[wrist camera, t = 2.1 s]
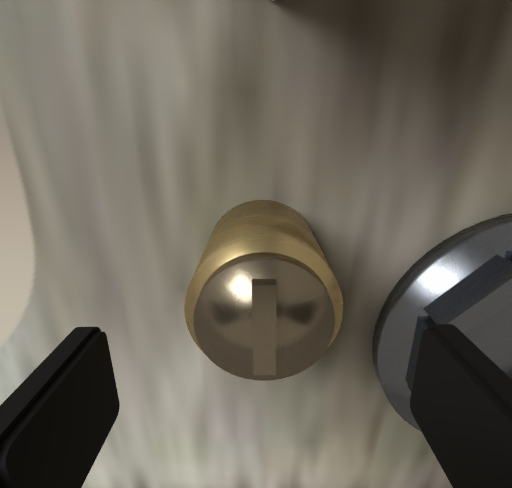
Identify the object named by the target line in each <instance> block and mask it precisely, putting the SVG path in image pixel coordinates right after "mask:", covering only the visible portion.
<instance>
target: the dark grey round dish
mask: <svg viewBox="0 0 512 488" xmlns="http://www.w3.org/2000/svg"><path fill="white" fill-rule="evenodd" d="M431 324H453V325H454V326H456V327H457V328H458V329H459V330H460V331H461V332H462V333H463V334H464V335H465V336H466V337H467V338H468V339H469V340H470V341H472V342H473V343H474V344H475V345H476V346H477V347H478V348H479V349H480V350H481V351H482V352H483V353H484V354H485V355H486V356H487V357H488V358H489V359H491V360H492V361H493V362H494V363H495V364H496V365H497V366H498V367H499V368H500V369H501V370H502V371H503V372H504V373H505V374H506V375H507V376H508V377H510V378H511V379H512V214H507V215H502V216H499V217H496V218H492V219H489V220H486V221H483V222H480V223H478V224H476V225H473V226H471V227H469V228H466V229H464V230H462V231H460V232H458V233H457V234H455V235H453V236H451V237H449V238H448V239H446V240H444V241H443V242H441V243H440V244H439V245H437V246H436V247H434V248H433V249H431V250H430V251H429V252H427V253H426V254H425V255H424V256H423V257H422V258H420V259H419V260H418V261H417V262H416V263H415V264H414V265H413V266H412V267H411V268H410V269H409V270H408V271H407V272H406V273H405V274H404V276H403V277H402V278H401V279H400V280H399V282H398V283H397V284H396V286H395V287H394V289H393V290H392V291H391V293H390V294H389V296H388V298H387V300H386V302H385V304H384V305H383V307H382V310H381V312H380V315H379V317H378V320H377V323H376V327H375V332H374V336H373V349H372V352H373V362H374V367H375V370H376V374H377V377H378V379H379V381H380V383H381V385H382V387H383V390H384V392H385V394H386V396H387V398H388V400H389V402H390V403H391V405H392V406H393V408H394V409H395V410H396V412H397V413H398V414H399V415H400V416H401V417H402V418H403V419H404V420H405V421H406V422H408V423H409V424H411V425H412V426H413V427H415V428H416V429H418V430H420V431H421V429H420V428H419V426H418V424H417V422H416V420H415V419H414V417H413V415H412V412H411V409H410V398H411V392H412V387H413V381H414V376H415V370H416V365H417V359H418V353H419V348H420V342H421V337H422V333H423V331H424V330H425V329H428V327H429V326H430V325H431Z"/></svg>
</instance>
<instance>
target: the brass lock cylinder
mask: <svg viewBox="0 0 512 488" xmlns="http://www.w3.org/2000/svg"><path fill="white" fill-rule="evenodd" d="M342 317H343V298H342V293H341V290H340V286H339V284H338V282H337V280H336V278H335V276H334V274H333V272H332V270H331V268H330V266H329V264H328V262H327V260H326V258H325V256H324V254H323V252H322V250H321V248H320V247H319V245H318V243H317V241H316V239H315V237H314V235H313V233H312V231H311V229H310V227H309V225H308V224H307V222H306V221H305V220H304V218H303V217H302V216H301V215H300V214H299V213H297V212H296V211H295V210H293V209H292V208H290V207H288V206H286V205H284V204H282V203H279V202H275V201H270V200H255V201H250V202H246V203H243V204H240V205H238V206H236V207H234V208H232V209H231V210H230V211H228V212H227V213H226V214H225V215H224V216H222V218H221V219H220V220H219V221H218V223H217V224H216V226H215V227H214V229H213V232H212V234H211V236H210V239H209V241H208V243H207V246H206V248H205V250H204V252H203V255H202V257H201V259H200V262H199V264H198V266H197V269H196V271H195V273H194V276H193V278H192V280H191V283H190V285H189V287H188V290H187V294H186V299H185V318H186V323H187V326H188V329H189V332H190V334H191V336H192V338H193V340H194V341H195V343H196V344H197V346H198V347H199V348H200V349H201V350H202V351H203V353H204V354H205V355H207V356H208V358H209V359H210V360H211V361H212V362H214V363H215V364H216V365H217V366H219V367H220V368H222V369H223V370H225V371H227V372H229V373H231V374H233V375H236V376H239V377H242V378H246V379H252V380H276V379H282V378H286V377H289V376H292V375H295V374H297V373H299V372H301V371H303V370H305V369H306V368H308V367H309V366H311V365H312V364H313V363H314V362H316V361H317V360H318V359H319V358H320V357H321V356H322V354H323V353H324V352H325V351H326V350H327V349H328V348H329V347H330V345H331V344H332V342H333V341H334V339H335V337H336V335H337V333H338V331H339V329H340V326H341V323H342Z"/></svg>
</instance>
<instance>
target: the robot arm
mask: <svg viewBox="0 0 512 488" xmlns="http://www.w3.org/2000/svg"><path fill="white" fill-rule="evenodd" d="M410 409H411V412H412V415H413V417H414V419H415V420H416V422H417V424H418V426H419V428H420V429H421V431H422V433H423V435H424V436H425V438H426V440H427V442H428V444H429V445H430V447H431V449H432V451H433V453H434V454H435V456H436V458H437V460H438V461H439V463H440V465H441V467H442V469H443V470H444V472H445V474H446V476H447V478H448V479H449V481H450V483H451V485H452V486H453V488H512V379H511V378H510V377H508V376H507V375H506V374H505V373H504V372H503V371H502V370H501V369H500V368H499V367H498V366H497V365H496V364H495V363H494V362H493V361H492V360H491V359H489V358H488V357H487V356H486V355H485V354H484V353H483V352H482V351H481V350H480V349H479V348H478V347H477V346H476V345H475V344H474V343H473V342H472V341H470V340H469V339H468V338H467V337H466V336H465V335H464V334H463V333H462V332H461V331H460V330H459V329H458V328H457V327H456V326H454V325H453V324H431V325H430V326H429V327H428V329H425V330H424V331H423V333H422V337H421V342H420V348H419V353H418V359H417V365H416V370H415V376H414V381H413V387H412V392H411V398H410ZM118 412H119V398H118V393H117V388H116V383H115V378H114V372H113V367H112V362H111V357H110V351H109V346H108V341H107V336H106V334H105V332H101V330H100V329H99V328H98V327H77V328H75V329H74V330H73V331H72V332H71V333H70V334H69V335H68V336H67V337H66V338H65V339H64V340H63V341H62V342H61V343H60V344H59V345H58V346H57V347H56V349H55V350H54V351H53V352H52V353H51V354H50V355H49V356H48V357H47V358H46V359H45V360H44V361H43V362H42V363H41V364H40V365H39V366H38V367H37V368H36V369H35V370H34V371H33V372H32V373H31V374H30V375H29V377H28V378H27V379H26V380H25V381H24V382H23V383H22V384H21V385H20V386H19V387H18V388H17V389H16V390H15V391H14V392H13V393H12V394H11V395H10V396H9V397H8V398H7V399H6V400H5V401H4V402H3V404H2V405H1V406H0V488H81V487H82V485H83V483H84V481H85V479H86V477H87V475H88V473H89V471H90V469H91V467H92V465H93V463H94V461H95V459H96V457H97V455H98V454H99V452H100V450H101V448H102V446H103V444H104V442H105V440H106V438H107V436H108V434H109V432H110V430H111V428H112V426H113V424H114V422H115V420H116V418H117V416H118Z"/></svg>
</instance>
